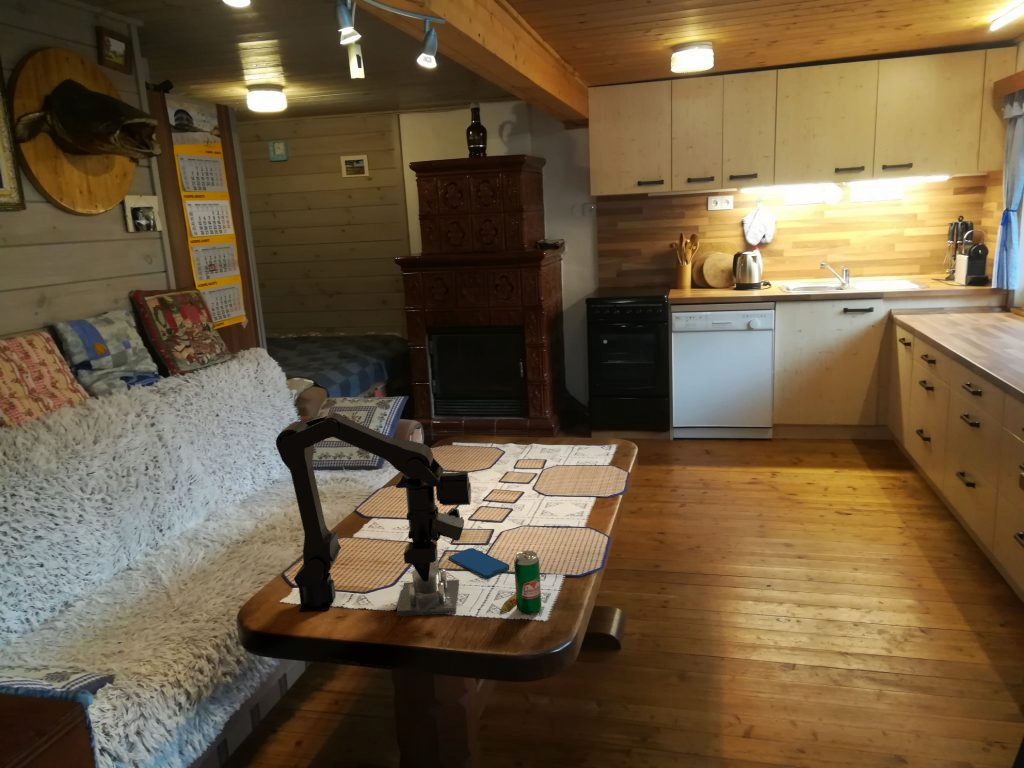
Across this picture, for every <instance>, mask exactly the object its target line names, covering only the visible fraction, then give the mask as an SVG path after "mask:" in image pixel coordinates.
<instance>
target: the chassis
mask: <svg viewBox="0 0 1024 768" xmlns="http://www.w3.org/2000/svg"><path fill="white" fill-rule="evenodd" d="M446 571H447V570H446V568H441V569H439V578H440V582H439V583H438V591H437V592H434V593H431V594H422V593H419V592H417V590H416V578H415V569H414V570H412V571H411V575H412V582H410V581H409V582H404V583H403V586H402V591H401V594H400V597H399V601H398V606H397V610H396V615H397V617H410V616H425V615H426V616H428V615H446V614H456V613H457V605H458V598H459V590H460V589H459V587H460V580H459V579H451V580H447V573H446Z"/></svg>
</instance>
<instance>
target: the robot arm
mask: <svg viewBox="0 0 1024 768" xmlns="http://www.w3.org/2000/svg"><path fill="white" fill-rule="evenodd" d="M329 438H335V439H337V440H339V441H340V442H344V443H345V444H349V445H351V446H353V447H355V448H357V449H360V450H361V451H365V452H367V453H370V454H372V455H375V456H376V457H379V458H381V459H383V460H385V461H387V462H388V463H389V464H390V465H391V466H392V467H393V468H394V469H396V470H397V471H398V472H399V473H401V474H402V475H401V477H399V478H398V480H397V482H396V484H395V489H405V493H406V494H405V495H406V505H407V513H406V520H407V521H408V527H409V528H408V534H407V536H408V537H407V538H408V539H409V540H410V539H411V540H412V542H409V543H408V544H407V545H406V546H405V547H404V548H405V549H404V552H403V560H404V563H405V564H406V565H408V564H409V565H410V564H411V565H412V566H413V568H414V570H415V569H416V571H417V572H418V574H419V575H420V577H421V579H422V580H423V581H428V580H429V572H430V563H432V562H435V561H436V557H437V552H438V545H437V546H436V544H434V543H433V542H432V540H435V541H436V542H437V543H438V541H439V540H440V538H441V537H445V538H448V539H452V540H453V541H456V542H457V541H461V540H460V539H461V537H462V534H463V529H464V525H465V519H464V517H463V516H461V515H460V510H459V509H458V508H455V507H451V508H450V509H449V510H448V511H447V512H446V511H444V513H442V512H439V507H438V505H437V504H436V500H437V502H438V503H439V505H442V506H443V507H444V506H449V507H450V506H468V505H469V506H470V505H471V503H472V487H471V486H472V484H471V481H470V477H469V471H466V470H464V471H463V470H462V471H459V472H444V471H445V469H444V468H443V467H442V465H441V464H440V463H439V462H438V461H437V460H436V459H435V457H434V453H433V451H432V449H431V448H430V447H429V446H428V445H427V444H424V443H421V442H417V441H413V440H408V439H407V440H405V439H398V438H393V437H392V436H391V437H390V436H388V435H386V434H383V433H382V432H379V431H377V430H374V429H373V428H370V427H368V426H365V425H363V424H360V423H359V422H356V421H354V420H353V419H352V420H351V419H349V418H348V417H347V418H346V417H344V416H343V415H342V414H340V413H337V412H332V413H329V414H328V415H325V416H323V417H317V418H313V419H311V420H309V421H305V422H303V421H298V420H297V421H293V422H291V423H290V424H289V425H287V426H285V428H284V429H283V430H282V431H280V433H279V434H278V435H277V437H276V439H275V446H276V449H277V452H278V453H279V456H280V459H281V461H282V462H283V464H284V465H285V466H286V467H287V469H288V470H289V472H290V475H291V479H292V484H293V489H294V493H295V498H296V503H297V507H298V511H299V515H300V519H301V524H302V525H301V526H302V529H303V532H304V539H303V548H302V561H303V563H302V565H301V566H300V568H299V569H298V571H297V572H296V574H295V576H294V577H293V580H294V582H295V584H296V586H297V587H298V593H299V600H300V604H299V608H298V611H299V612H315V611H317V612H318V611H328V610H331V607H332V604H333V603H334V602H335V600H336V597H337V596H336V587H335V579H332V575H331V572H330V571H331V569H332V568H333V566H334V564H335V563H336V560H337V559H338V556H339V554H340V553H339V552H340V550H342V546H341V545H340V543H339V537H338V531H333V532H331V531H330V530H329V529H328V527H327V524H326V522H325V517H324V511H323V507H322V503H321V499H320V494H319V489H318V488H319V487H318V485H317V478H316V475H315V470H314V466H313V460H314V459H313V458H314V452H315V450H314V449H315V445H316V444H318V443H321V442H323V441H324V440H327V439H329ZM435 490H436V491H435ZM435 494H436V495H435ZM435 497H436V498H435ZM426 540H427V541H426Z"/></svg>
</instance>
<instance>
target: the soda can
mask: <svg viewBox="0 0 1024 768" xmlns="http://www.w3.org/2000/svg"><path fill="white" fill-rule="evenodd" d="M513 563H514V564H513V565H514V584H515V593H516V604H517V605H516V609H517V610H518V612H520V613H521V614H523V615H533V614H537V613H538V612H539V611H540V610H541V609H542V591H541V588H542V587H541V570H540V558H539V556H538V553H537V552H535V551H533V550H522V551H518V552H517V553H516V554H515V558H514V560H513Z"/></svg>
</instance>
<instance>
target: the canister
mask: <svg viewBox="0 0 1024 768" xmlns="http://www.w3.org/2000/svg"><path fill="white" fill-rule="evenodd" d="M426 541H427V540H426ZM432 542H433V543H434V544H436V546H437V547H438V541H437V542H436V541H435V540H432ZM414 570H415V578H416V590H417V592H419V593H422V594H431V593H434V592H437V591H438V583H439V582H440V581H441V577H440V567H439V554H438V552H437V557H436V561H435V562H432V563H430V572H429V580H428V581H423V580H422V579H421V577H420V575H419V574H418V572H417V571H416V569H415V568H414Z"/></svg>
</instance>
